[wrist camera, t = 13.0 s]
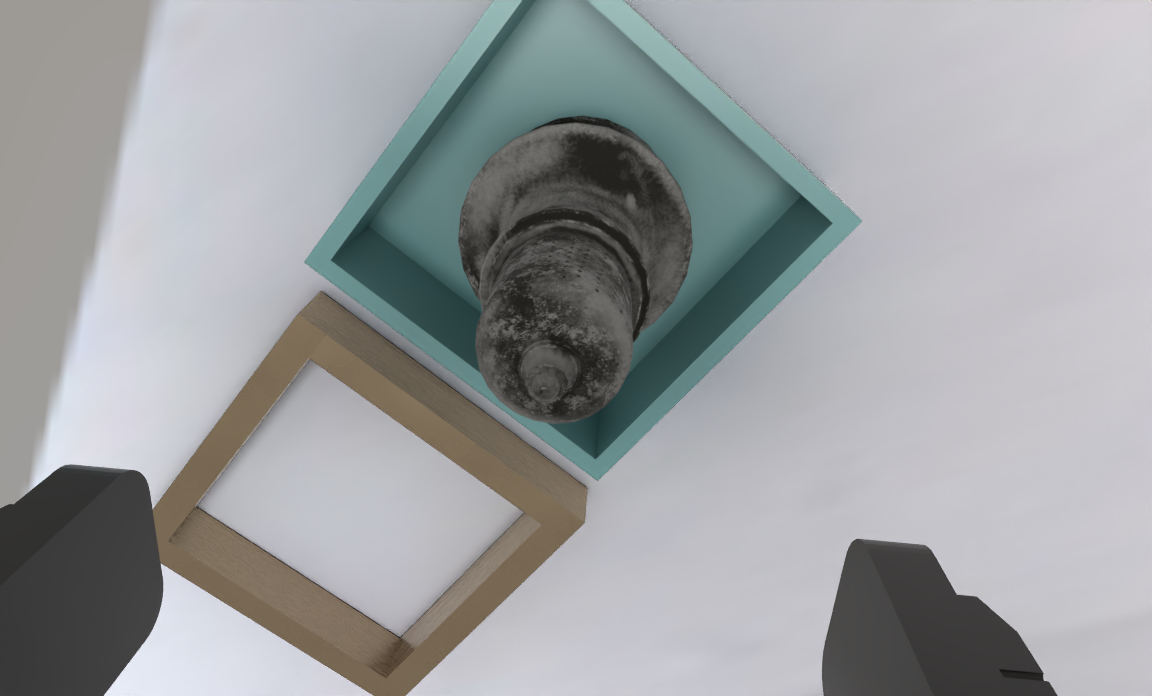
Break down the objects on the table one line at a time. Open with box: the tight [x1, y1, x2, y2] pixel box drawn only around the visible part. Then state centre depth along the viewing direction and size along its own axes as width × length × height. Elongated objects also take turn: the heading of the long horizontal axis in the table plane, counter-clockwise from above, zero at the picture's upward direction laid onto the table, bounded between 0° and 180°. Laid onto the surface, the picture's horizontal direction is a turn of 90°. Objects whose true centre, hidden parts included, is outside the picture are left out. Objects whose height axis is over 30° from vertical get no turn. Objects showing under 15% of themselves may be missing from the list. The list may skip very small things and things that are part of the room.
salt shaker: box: [458, 116, 693, 424], centre depth 18 cm, size 6×6×12 cm
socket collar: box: [153, 292, 587, 696], centre depth 28 cm, size 11×11×2 cm
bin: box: [304, 0, 862, 481], centre depth 22 cm, size 10×10×4 cm
